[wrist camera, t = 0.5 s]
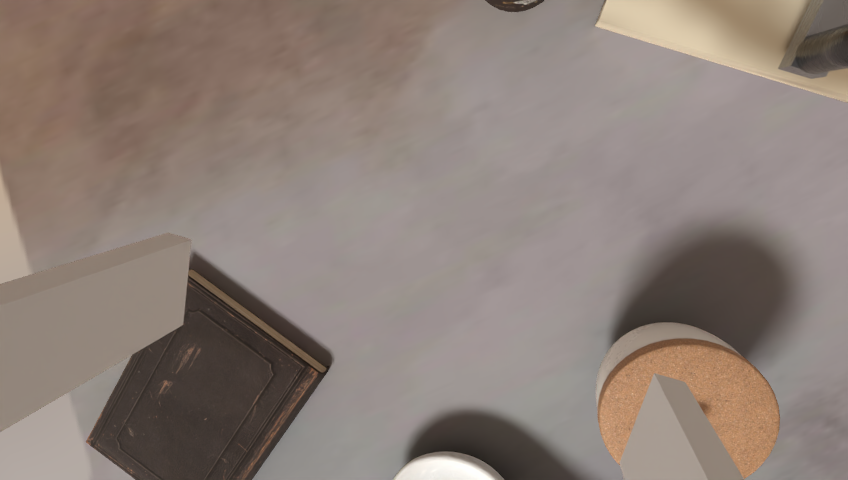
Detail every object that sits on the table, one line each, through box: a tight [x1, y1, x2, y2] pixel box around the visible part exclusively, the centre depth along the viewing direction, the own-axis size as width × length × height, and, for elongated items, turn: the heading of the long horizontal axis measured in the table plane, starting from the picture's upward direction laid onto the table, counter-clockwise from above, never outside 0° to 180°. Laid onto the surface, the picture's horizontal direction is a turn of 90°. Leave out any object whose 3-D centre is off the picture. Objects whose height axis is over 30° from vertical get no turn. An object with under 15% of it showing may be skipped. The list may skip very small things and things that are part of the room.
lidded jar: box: [596, 322, 780, 479], centre depth 35 cm, size 11×11×9 cm
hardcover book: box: [86, 269, 330, 480], centre depth 48 cm, size 16×23×2 cm
